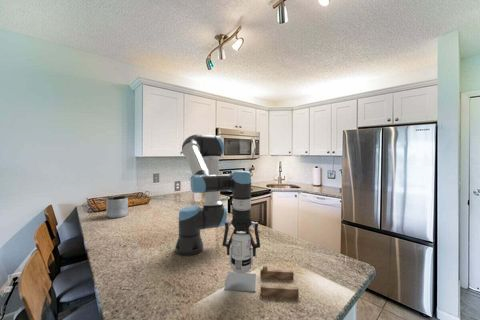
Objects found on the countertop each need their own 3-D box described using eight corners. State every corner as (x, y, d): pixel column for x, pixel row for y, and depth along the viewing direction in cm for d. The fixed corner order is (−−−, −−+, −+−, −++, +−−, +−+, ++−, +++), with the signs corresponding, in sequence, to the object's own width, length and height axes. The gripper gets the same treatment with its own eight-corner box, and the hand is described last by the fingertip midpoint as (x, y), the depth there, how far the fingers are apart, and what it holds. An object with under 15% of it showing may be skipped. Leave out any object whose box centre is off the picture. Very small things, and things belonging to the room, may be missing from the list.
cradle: (260, 295, 79) (260, 283, 79) (260, 275, 93) (260, 265, 92) (298, 297, 78) (298, 285, 78) (292, 277, 91) (292, 266, 91)
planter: (112, 219, 169) (112, 200, 169) (102, 216, 178) (102, 198, 178) (131, 215, 183) (131, 197, 182) (121, 212, 191) (121, 195, 191)
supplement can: (230, 264, 91) (231, 229, 91) (249, 263, 92) (250, 229, 91) (231, 274, 83) (231, 236, 83) (252, 273, 84) (252, 236, 83)
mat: (224, 290, 82) (224, 289, 82) (228, 273, 94) (228, 272, 94) (255, 292, 81) (255, 291, 81) (255, 274, 93) (255, 273, 93)
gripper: (214, 209, 84) (214, 266, 85) (267, 211, 82) (267, 269, 83) (218, 205, 92) (218, 257, 92) (266, 207, 90) (266, 260, 90)
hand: (241, 263), depth 87 cm, fingers closed on supplement can, 8 cm apart
